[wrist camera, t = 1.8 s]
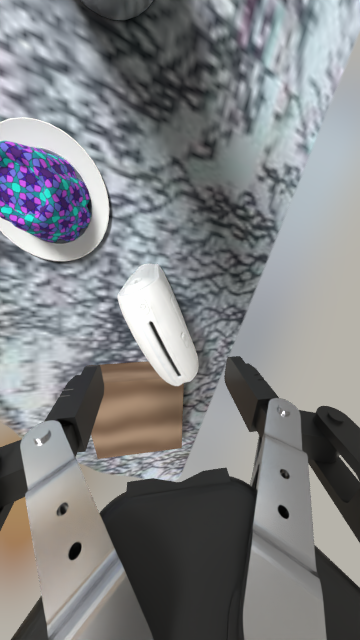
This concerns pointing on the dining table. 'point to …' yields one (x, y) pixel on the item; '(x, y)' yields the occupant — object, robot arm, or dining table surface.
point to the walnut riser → (137, 412)
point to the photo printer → (158, 324)
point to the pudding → (49, 191)
